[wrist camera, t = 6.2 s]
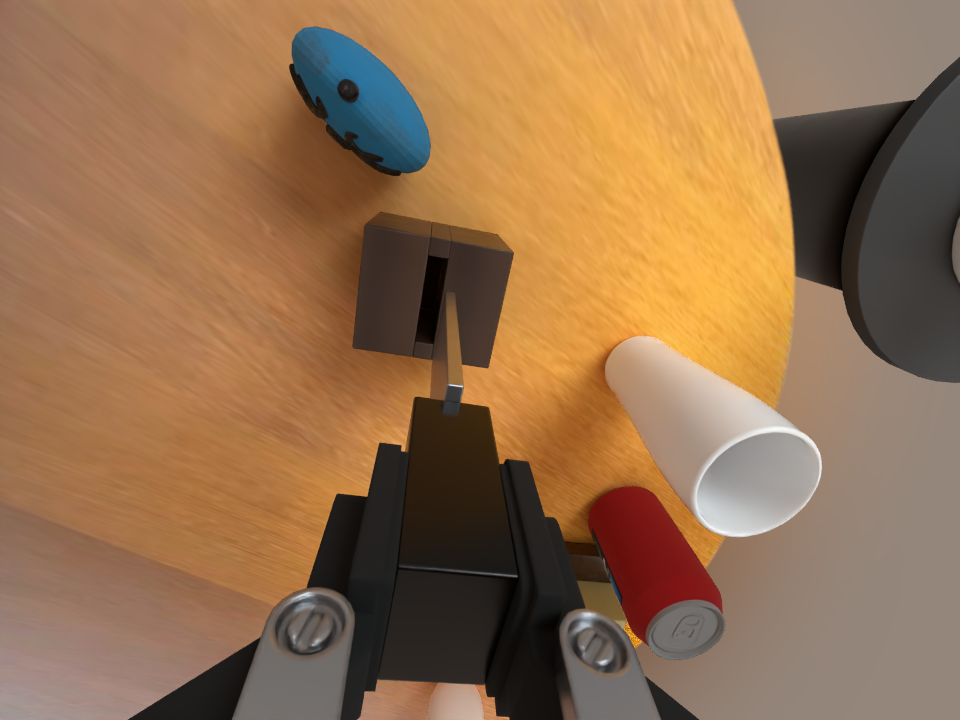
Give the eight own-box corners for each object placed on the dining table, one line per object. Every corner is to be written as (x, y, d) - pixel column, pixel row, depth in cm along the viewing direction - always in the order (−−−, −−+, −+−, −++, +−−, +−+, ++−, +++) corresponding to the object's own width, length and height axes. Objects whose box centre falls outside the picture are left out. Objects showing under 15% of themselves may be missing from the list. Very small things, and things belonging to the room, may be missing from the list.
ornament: (293, 89, 27) (220, 51, 18) (343, 24, 26) (293, -52, 17) (400, 194, 30) (384, 208, 21) (449, 139, 29) (455, 127, 20)
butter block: (611, 582, 43) (627, 621, 40) (596, 620, 45) (610, 660, 41) (540, 577, 42) (549, 616, 39) (527, 615, 44) (535, 656, 40)
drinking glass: (610, 416, 38) (711, 559, 24) (580, 349, 35) (672, 466, 22) (687, 379, 37) (836, 504, 23) (662, 308, 35) (811, 402, 21)
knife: (472, 295, 22) (529, 556, 8) (457, 369, 24) (481, 703, 9) (427, 287, 22) (398, 543, 7) (415, 362, 24) (370, 698, 9)
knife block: (498, 234, 31) (514, 252, 25) (478, 330, 34) (488, 368, 28) (379, 211, 30) (364, 223, 24) (368, 312, 33) (351, 348, 26)
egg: (483, 688, 50) (491, 777, 43) (433, 697, 50) (433, 788, 43) (475, 655, 48) (482, 743, 41) (423, 665, 48) (421, 754, 40)
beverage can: (574, 533, 43) (622, 662, 32) (600, 474, 40) (662, 591, 29) (640, 543, 44) (708, 671, 33) (669, 487, 41) (753, 603, 30)
